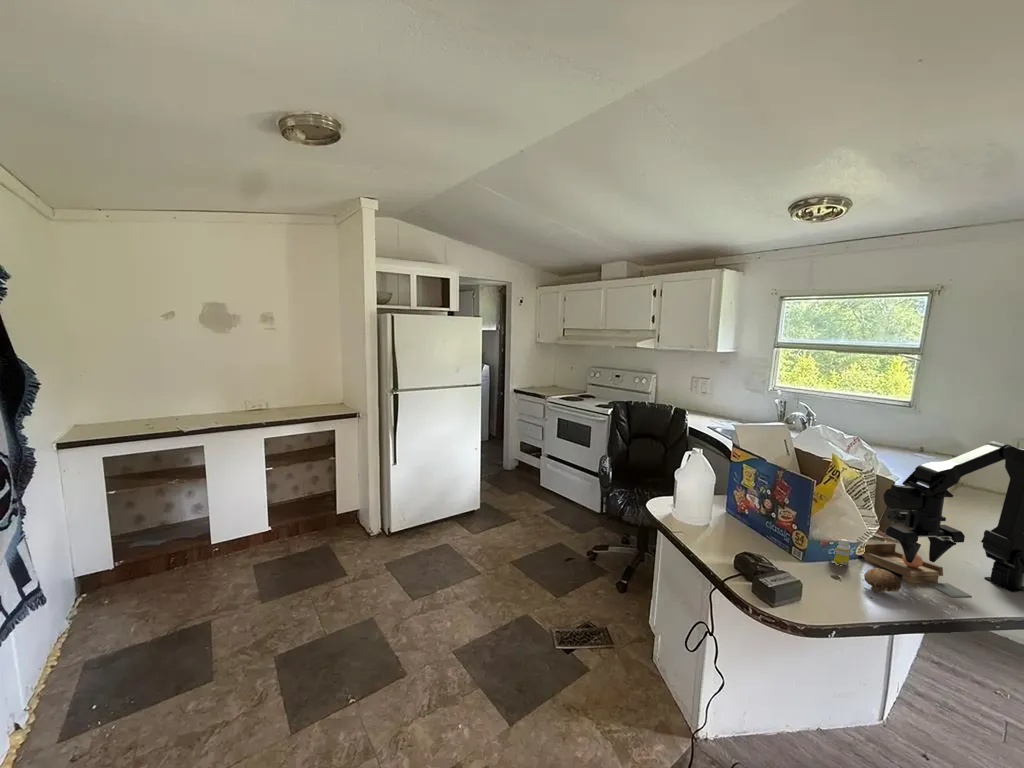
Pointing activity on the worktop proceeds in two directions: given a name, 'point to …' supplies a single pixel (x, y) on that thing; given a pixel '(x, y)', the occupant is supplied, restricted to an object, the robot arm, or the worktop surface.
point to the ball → (915, 563)
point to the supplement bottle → (842, 552)
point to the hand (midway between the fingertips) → (920, 562)
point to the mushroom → (882, 580)
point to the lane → (900, 563)
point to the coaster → (949, 590)
